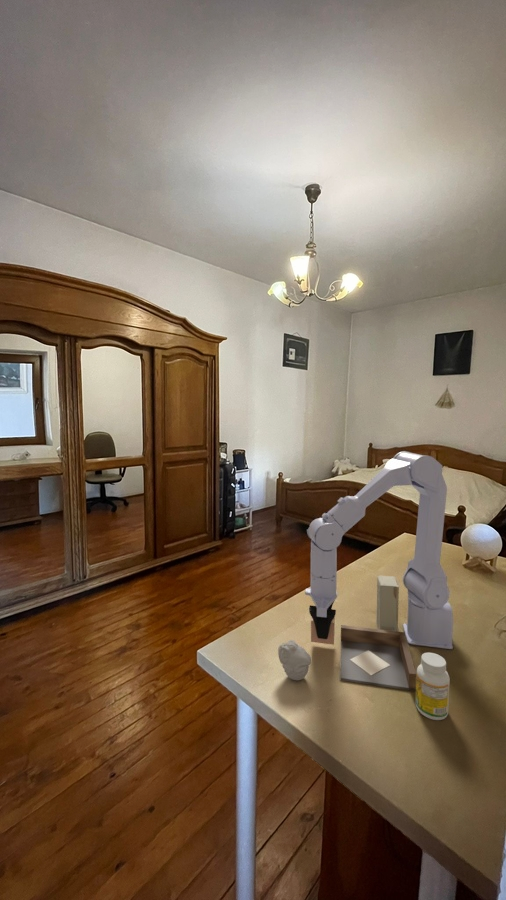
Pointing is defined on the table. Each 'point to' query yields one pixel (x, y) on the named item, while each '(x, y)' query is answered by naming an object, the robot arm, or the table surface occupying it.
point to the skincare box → (387, 603)
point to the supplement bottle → (432, 687)
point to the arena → (376, 658)
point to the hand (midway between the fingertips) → (323, 630)
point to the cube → (318, 640)
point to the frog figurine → (294, 660)
